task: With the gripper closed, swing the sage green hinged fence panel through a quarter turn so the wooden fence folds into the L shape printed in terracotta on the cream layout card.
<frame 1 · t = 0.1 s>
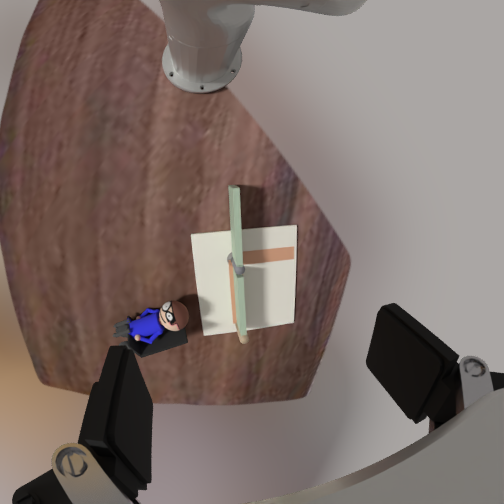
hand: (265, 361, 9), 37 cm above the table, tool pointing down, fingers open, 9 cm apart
character figurine: (153, 316, 48), on the table
fixed fence panel: (237, 295, 50), resting on layout card
layout card: (247, 283, 49), on the table
hinged fence panel: (235, 229, 42), point 3 cm above the table, hinge at 0.0°
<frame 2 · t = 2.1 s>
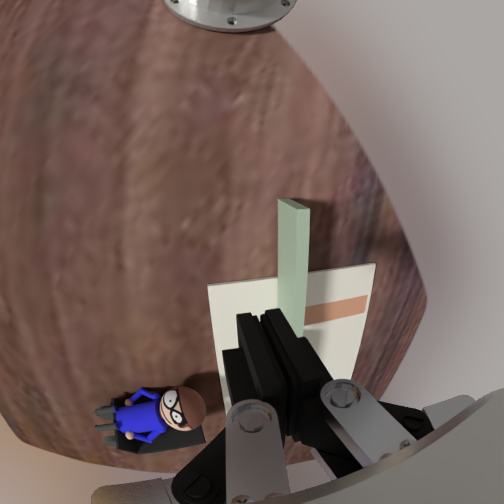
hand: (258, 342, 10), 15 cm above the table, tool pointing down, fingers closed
character figurine: (150, 396, 29), on the table
layout card: (295, 350, 30), on the table
hinged fence panel: (291, 280, 23), point 3 cm above the table, hinge at 0.0°
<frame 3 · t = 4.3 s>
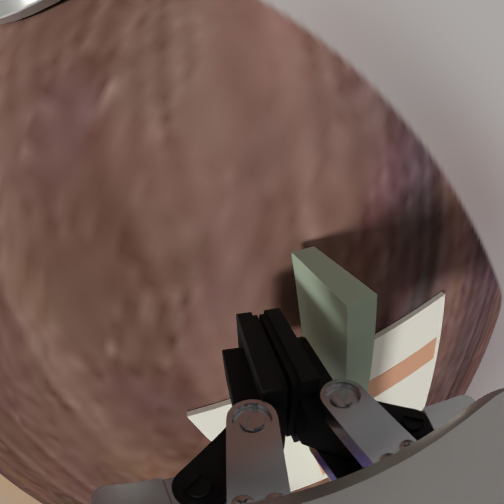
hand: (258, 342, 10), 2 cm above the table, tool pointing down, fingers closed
layout card: (344, 430, 18), on the table
hinged fence panel: (331, 393, 11), point 3 cm above the table, hinge at 7.8°, touching gripper
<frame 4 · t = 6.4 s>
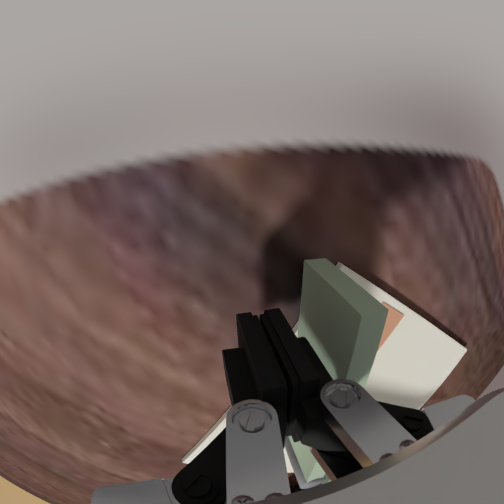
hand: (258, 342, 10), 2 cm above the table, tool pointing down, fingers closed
character figurine: (274, 499, 23), on the table
layout card: (352, 413, 17), on the table
hinged fence panel: (316, 404, 11), point 3 cm above the table, hinge at 58.1°, touching gripper
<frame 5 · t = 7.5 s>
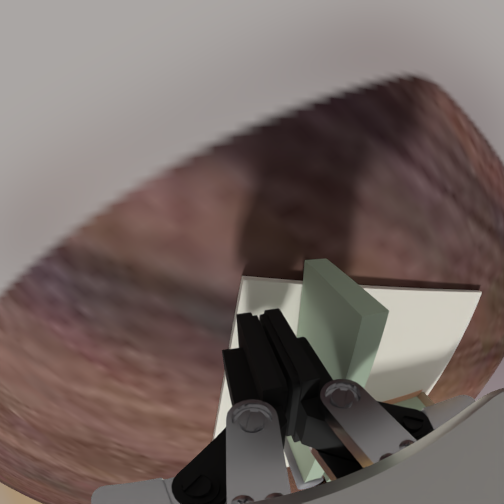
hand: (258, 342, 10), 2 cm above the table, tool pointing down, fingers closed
fixed fence panel: (369, 409, 18), resting on layout card
layout card: (356, 397, 17), on the table
hinged fence panel: (315, 404, 11), point 3 cm above the table, hinge at 80.0°, touching gripper
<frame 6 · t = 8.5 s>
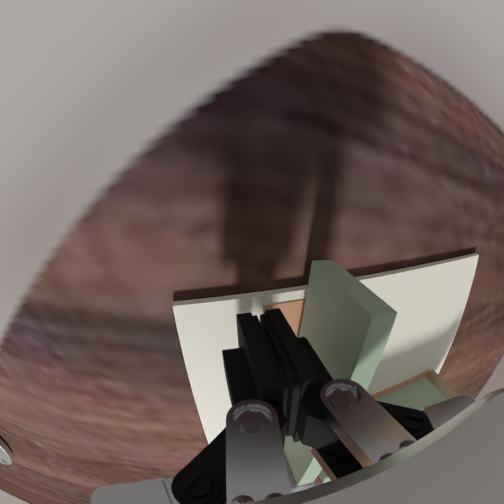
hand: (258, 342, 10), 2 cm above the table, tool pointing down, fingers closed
fixed fence panel: (371, 399, 17), resting on layout card
layout card: (350, 391, 16), on the table
hinged fence panel: (313, 406, 11), point 3 cm above the table, hinge at 96.3°, touching gripper
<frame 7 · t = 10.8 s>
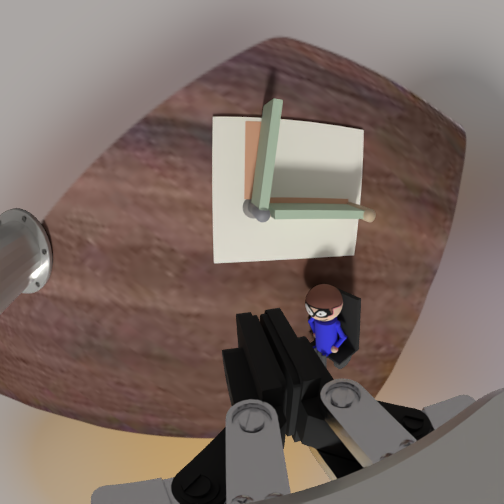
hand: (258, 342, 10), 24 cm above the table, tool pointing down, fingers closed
character figurine: (320, 315, 41), on the table
fixed fence panel: (308, 206, 35), resting on layout card
layout card: (292, 190, 34), on the table
hinged fence panel: (265, 159, 29), point 3 cm above the table, hinge at 96.3°
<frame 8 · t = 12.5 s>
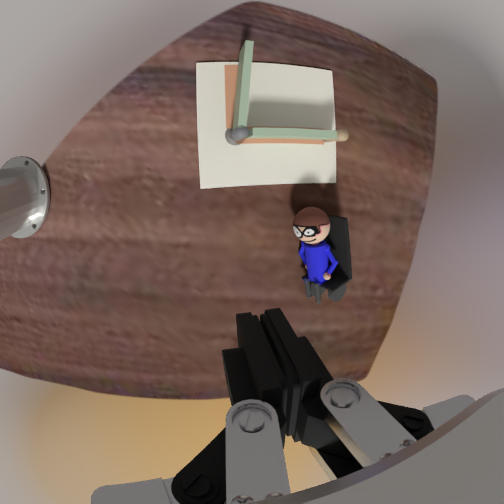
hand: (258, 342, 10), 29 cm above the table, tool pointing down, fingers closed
character figurine: (310, 247, 43), on the table
fixed fence panel: (286, 135, 36), resting on layout card
layout card: (270, 121, 35), on the table
hinged fence panel: (242, 90, 30), point 3 cm above the table, hinge at 96.3°
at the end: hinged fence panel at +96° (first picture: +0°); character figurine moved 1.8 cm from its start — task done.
